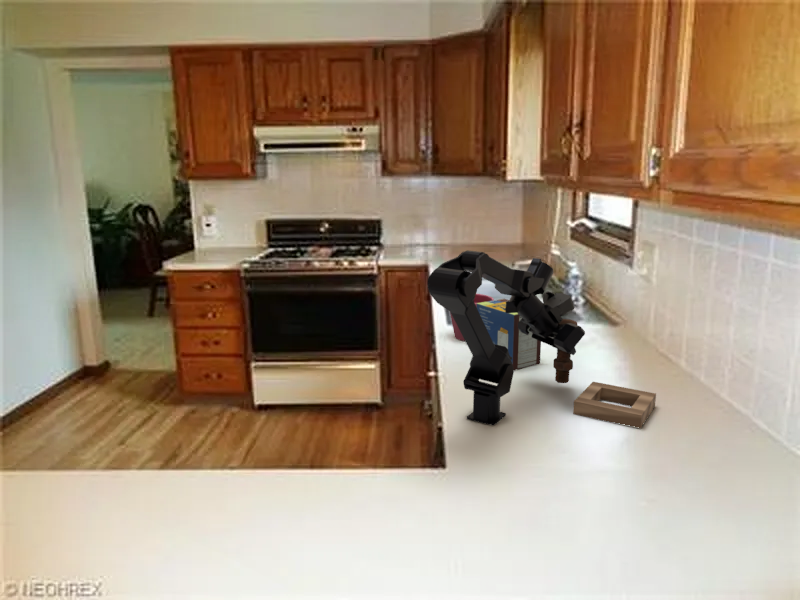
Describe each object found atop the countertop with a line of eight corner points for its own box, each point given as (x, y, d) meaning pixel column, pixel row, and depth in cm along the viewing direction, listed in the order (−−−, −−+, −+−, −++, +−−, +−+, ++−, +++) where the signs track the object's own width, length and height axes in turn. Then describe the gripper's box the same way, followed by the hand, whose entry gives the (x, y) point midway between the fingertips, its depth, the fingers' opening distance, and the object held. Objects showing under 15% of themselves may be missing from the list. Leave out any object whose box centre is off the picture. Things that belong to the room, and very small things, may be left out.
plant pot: (499, 335, 190) (501, 295, 188) (481, 347, 179) (482, 305, 176) (459, 329, 198) (459, 290, 195) (438, 339, 186) (439, 299, 183)
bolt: (573, 386, 142) (578, 325, 139) (551, 385, 143) (555, 324, 140) (571, 378, 148) (576, 319, 144) (550, 376, 149) (554, 317, 145)
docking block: (640, 429, 124) (641, 415, 123) (573, 413, 132) (573, 401, 131) (654, 406, 135) (656, 393, 135) (592, 393, 143) (592, 381, 142)
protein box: (502, 349, 176) (503, 297, 173) (540, 364, 164) (543, 308, 160) (474, 356, 171) (475, 302, 167) (512, 371, 158) (514, 314, 155)
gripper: (580, 291, 130) (617, 335, 137) (530, 276, 147) (564, 316, 154) (548, 330, 129) (586, 372, 136) (501, 311, 146) (537, 349, 152)
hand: (568, 350), depth 144 cm, fingers closed on bolt, 4 cm apart
